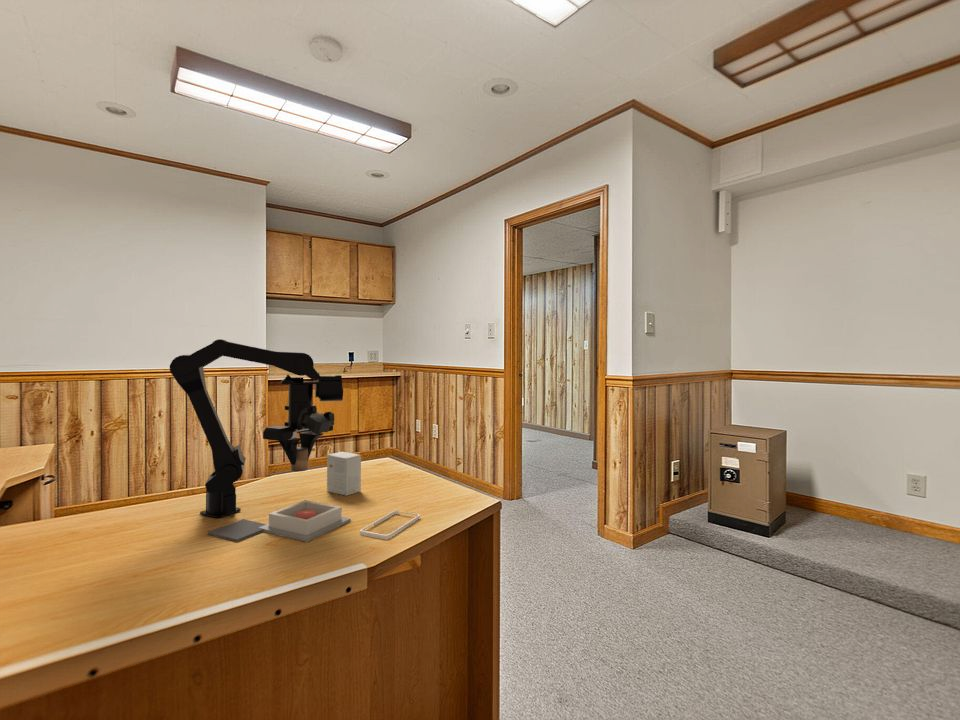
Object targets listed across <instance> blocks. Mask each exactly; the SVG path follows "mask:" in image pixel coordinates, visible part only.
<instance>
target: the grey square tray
mask: <svg viewBox="0 0 960 720" xmlns="http://www.w3.org/2000/svg"><path fill="white" fill-rule="evenodd" d="M305 509H312V510H316V516H314V517H312V518H309V519H307V520H306V519H302V518H297V517H296V512H297V511H300V510H305ZM350 522H351V517H345V516H342V506H338V505H332V504H328V503H322V502H316V501H313V500H306V499H305V500H302V501H299V502H297V503H294V504H291V505H288V506H286V507H283V508H280V509H278V510H274V511H273V512H270V513H268V523H265V524H266V525H264V526H261V527H258V528H260V529H263V532H262V533H268V534H271V535H276V536H281V537H285V538H289V539H293V540H298V541H302V542H306V543H308V542H310V541H312V540H314V539H316V538H318V537H320V536H322V535H325V534H327V533H329V532H331V531H333V530H335V529H337V528H339V527H341V526H343V525H345V524H348V523H350Z"/></svg>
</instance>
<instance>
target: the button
mask: <svg viewBox="0 0 960 720" xmlns="http://www.w3.org/2000/svg"><path fill="white" fill-rule="evenodd" d="M314 516H316V510H312V509H305V510H300V511H297V512H296V517H297V518H302V519H306V520H307V519H309V518H312V517H314Z"/></svg>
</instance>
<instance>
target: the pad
mask: <svg viewBox="0 0 960 720" xmlns="http://www.w3.org/2000/svg"><path fill="white" fill-rule="evenodd" d="M266 524H267V523H262V522H257V521H254V520H249V519H245V518H243V519H239V520H236V521H233V522H231V523H229V524H226V525H223V526H220V527H216V528H215V529H212V530H209V531H207V535H209V536H213V537H215V538H220V539H225V540H229V541H232V542H236V543H238V542H240V541H244V540H246V539H248V538H250V537H253V536H255V535H258V534H260V533H264V532H263V529H260V528H258V527H261V526H264V525H266Z"/></svg>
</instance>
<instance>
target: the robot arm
mask: <svg viewBox="0 0 960 720" xmlns="http://www.w3.org/2000/svg"><path fill="white" fill-rule="evenodd" d="M221 357H227V358H231V359H232V358H233V359H237V360H242V361H246V362H247V361H248V362H252V363H257V364H263V365H268V366H273V367H276V368H279V369H280V370H282V371H286V372H287V373H291V374H293V375H297V376H299V377H291V375H290V374H286V376H285V377H284V378H283V379H282V380H281V381H280V384H282V385H288V405H284V411H287V413H288V417H287V419H288V420H287V421H284V425H272V426H266V427H265V428H264V429H263V430H262V439H263V440H267V441H268V440H269V441H275V442H278V443H279V444H280V447H282V449H283V451H284V453H285V454H286V457H287V459H288V461H289V463H290V465H291V464H292V465H295V463H296V452H297V447H298V443H299V442H300V447H308V460H309V459H310V457H311V454H312V451H313V448H314V445H315V443H316V442H317V440H318V439H319V438H321V436H324V433H328V432H332V431H334V425H335V413H334V412H332V411H326V412H324V413H323V412H322V413H319V412H318V410H317V406H316V405H313V395H314V396H315V397H314V398H318V400H319V402H343V400H344V399H343V398H344V388H343V377H342V375H341V374H335V375H320V372H318V371H317V370H316V368H315V367H314V360H313V358H312V356H311V355H309V354H308V353H305V352H297V351H274V350H270V349H265V348H260V347H256V346H251V345H247V344H242V343H241V344H240V343H237V342H231V341H227V340H226V339H216V340H214V341H213V342H212V343H210V344H208V345H206V346H204V347H202V348H200V349H198V350H196V351H195V352H193V353H191V354H183V355H178V356H176V357H175V358H173V360H171V361H170V362H171V363H170V365H169V372H170V374H171V376H172V377H173V379H174V380H175V381H176V382H177V384H178V385H179V386H180V388H181V389H182V390H183V391H184V392H185V394H186V395H187V396H188V399H189V401H190V403H191V405H192V408H193V410H194V412H195V414H196V417H197V419H198V421H199V423H200V426H201V428H202V430H203V432H204V435H205V437H206V440H207V442H208V444H209V447H210V449H211V456H212V463H213V468H214V471H213V472H212V473H211V474H210V475H209V477H208V478H207V480H206V482H205V484H204V486H205V510H202V511H199V515H203V516H205V517H210V518H211V517H212V518H214V519H218V518H222V517H227V516H228V515H232V514H235V513H237V512H240V511H242V509H241V507H237V493H236V486H235V485H234V483H235V482H237V481H239V480H240V479H241V477H242V475H243V472H244V469H245V462H246V459H247V457H245V456H244V454H243V453H242V449H241V445H240V444H237V445H236V446H234V445H233V444H232V443H231V442H230V440H229V438H228V436H227V433H226V431H225V430H224V427H223V424H222V422H221V420H220V418H219V415H218V413H217V410H216V407H215V405H214V403H213V401H212V399H211V396H210V394H209V391H208V389H207V384H206V383H207V382H206V376H205V371H204V367H207V366H208V365H209V364H211V363H213V362H215V361H217V360H219V358H221ZM300 376H301V377H300ZM302 376H306V377H307V378H309V379H311V380H314V381H308V380H307V381H306V380H304V377H302ZM313 385H314V387H313ZM313 388H314V390H313ZM313 391H314V392H313ZM313 393H314V394H313ZM298 435H299V437H298Z"/></svg>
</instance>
